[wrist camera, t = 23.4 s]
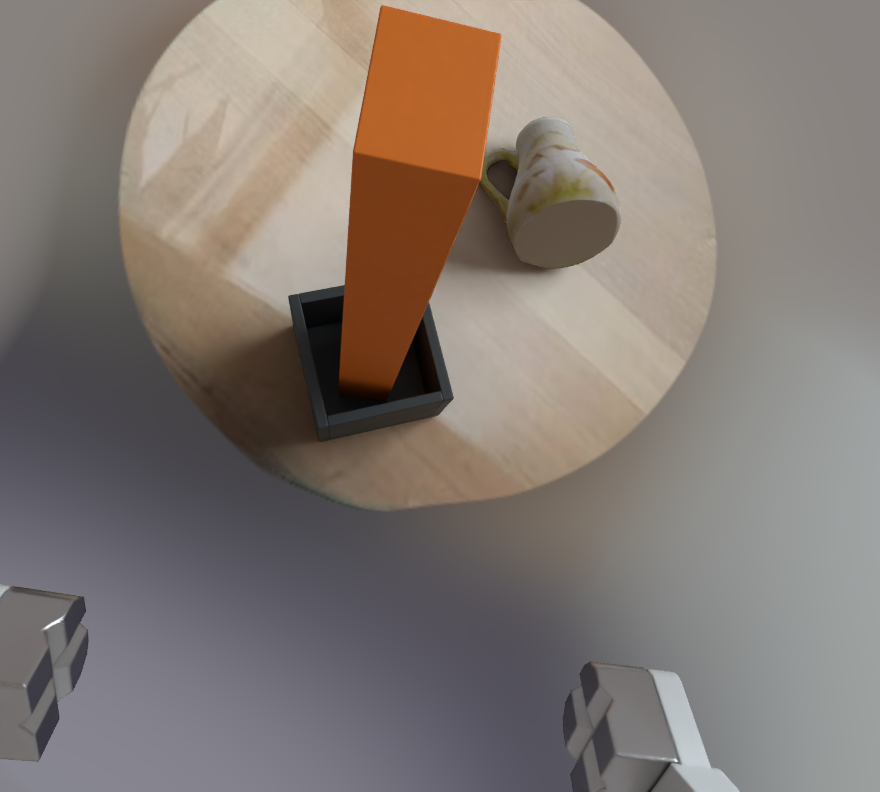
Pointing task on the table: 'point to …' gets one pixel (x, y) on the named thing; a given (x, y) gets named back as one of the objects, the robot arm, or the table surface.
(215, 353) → the table surface
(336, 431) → the bin
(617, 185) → the table surface
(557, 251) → the mug
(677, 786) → the robot arm
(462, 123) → the block
